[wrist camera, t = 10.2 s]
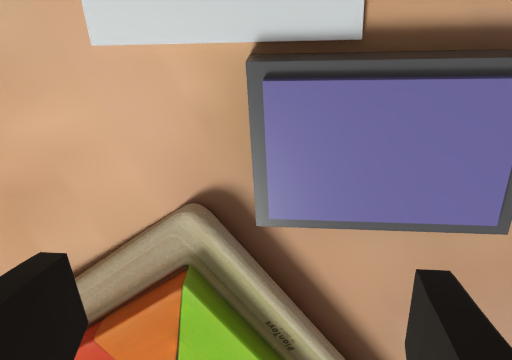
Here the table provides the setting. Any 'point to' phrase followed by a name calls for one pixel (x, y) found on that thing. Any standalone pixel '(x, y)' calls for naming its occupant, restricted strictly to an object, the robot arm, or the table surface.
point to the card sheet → (221, 21)
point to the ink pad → (383, 140)
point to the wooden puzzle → (191, 300)
